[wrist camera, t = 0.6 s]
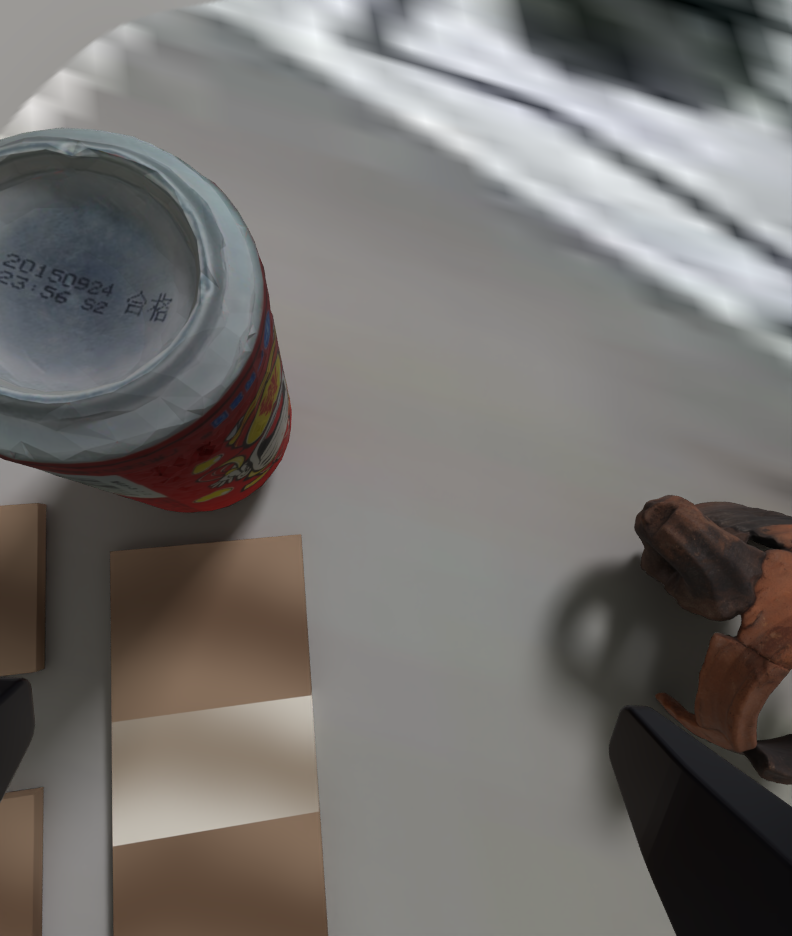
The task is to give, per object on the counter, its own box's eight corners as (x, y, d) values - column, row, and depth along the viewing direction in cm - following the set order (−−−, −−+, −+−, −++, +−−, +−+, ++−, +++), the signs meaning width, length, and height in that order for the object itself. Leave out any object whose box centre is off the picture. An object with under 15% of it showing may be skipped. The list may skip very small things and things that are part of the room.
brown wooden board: (331, 987, 19) (332, 1001, 18) (121, 1033, 17) (114, 1049, 17) (301, 535, 21) (300, 534, 20) (116, 551, 20) (110, 551, 19)
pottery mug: (825, 551, 25) (1037, 677, 17) (677, 681, 27) (806, 845, 19) (662, 402, 22) (834, 475, 14) (509, 564, 24) (584, 706, 16)
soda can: (280, 528, 21) (222, 484, 9) (96, 504, 20) (-234, 421, 8) (307, 364, 22) (288, 135, 10) (136, 336, 22) (-99, 53, 10)
